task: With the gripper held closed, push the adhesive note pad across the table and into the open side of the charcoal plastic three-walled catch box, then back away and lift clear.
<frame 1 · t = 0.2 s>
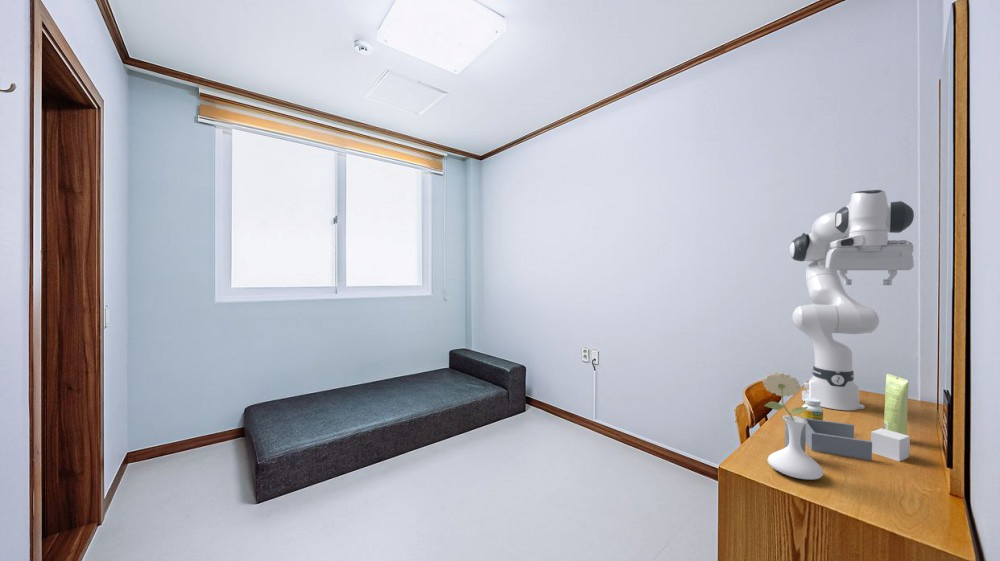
hand: (867, 285, 121), 47 cm above the table, tool pointing down, fingers open, 8 cm apart
supplement bottle: (812, 429, 126), on the table
catch box: (832, 445, 113), on the table
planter: (794, 456, 107), on the table
adhesive note: (889, 455, 108), on the table
flower in vase: (790, 472, 98), on the table
tube: (895, 440, 117), on the table
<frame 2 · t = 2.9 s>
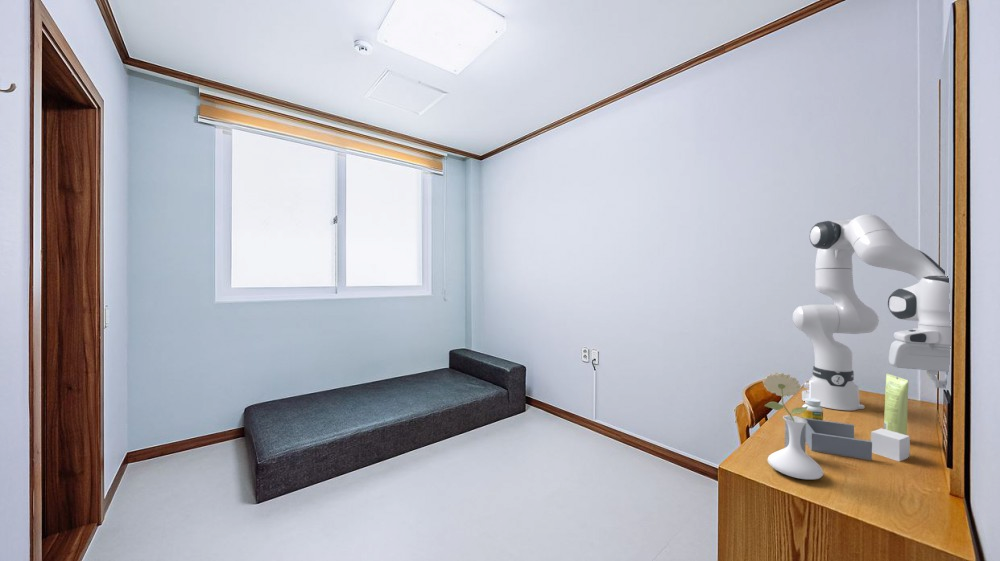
hand: (941, 387, 103), 20 cm above the table, tool pointing down, fingers closed
nothing on the table moved.
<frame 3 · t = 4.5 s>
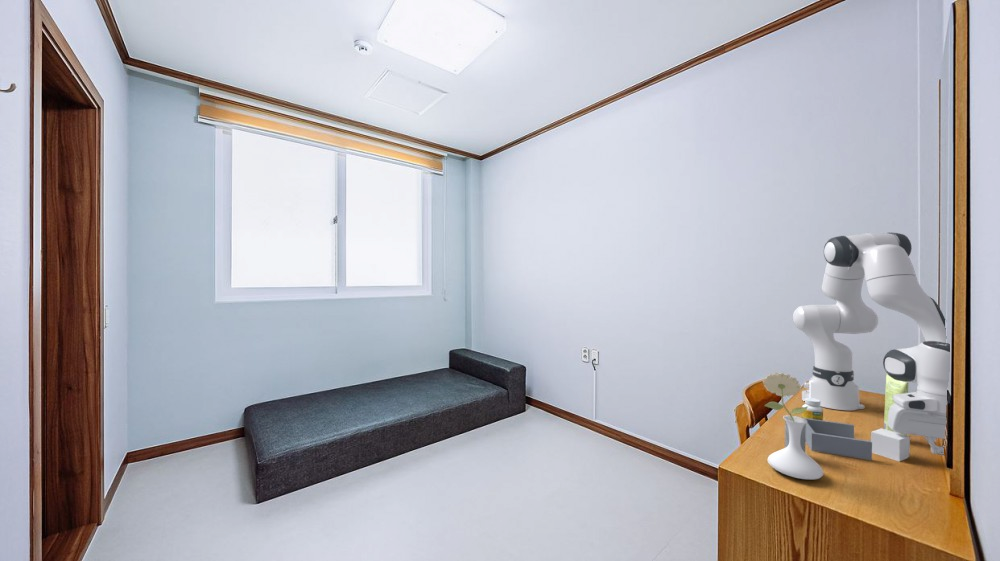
hand: (939, 454, 103), 2 cm above the table, tool pointing down, fingers closed
nothing on the table moved.
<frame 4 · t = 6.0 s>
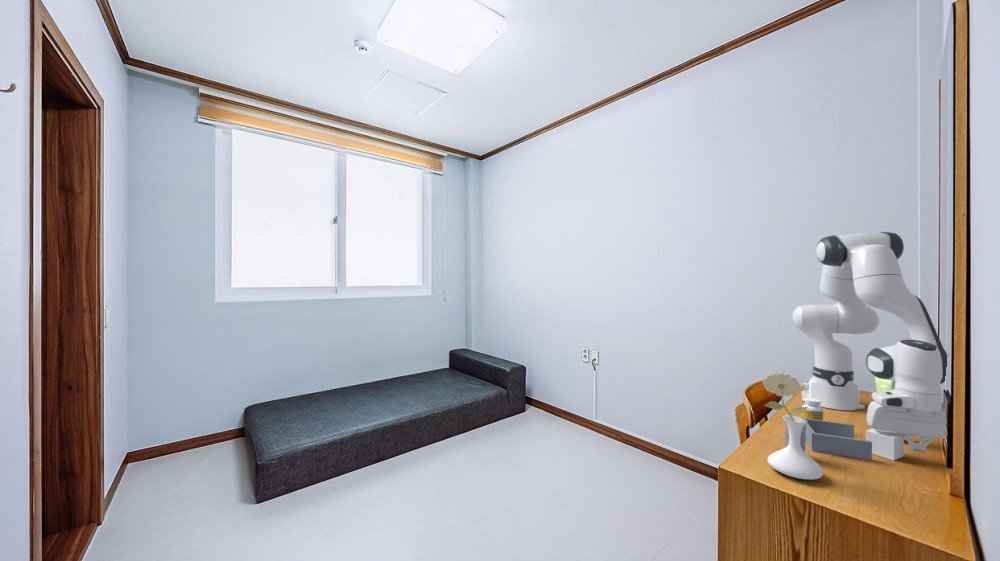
hand: (917, 450, 105), 2 cm above the table, tool pointing down, fingers closed
adhesive note: (884, 454, 108), on the table, touching gripper
tube: (895, 439, 117), on the table, touching arm
everything else where it was.
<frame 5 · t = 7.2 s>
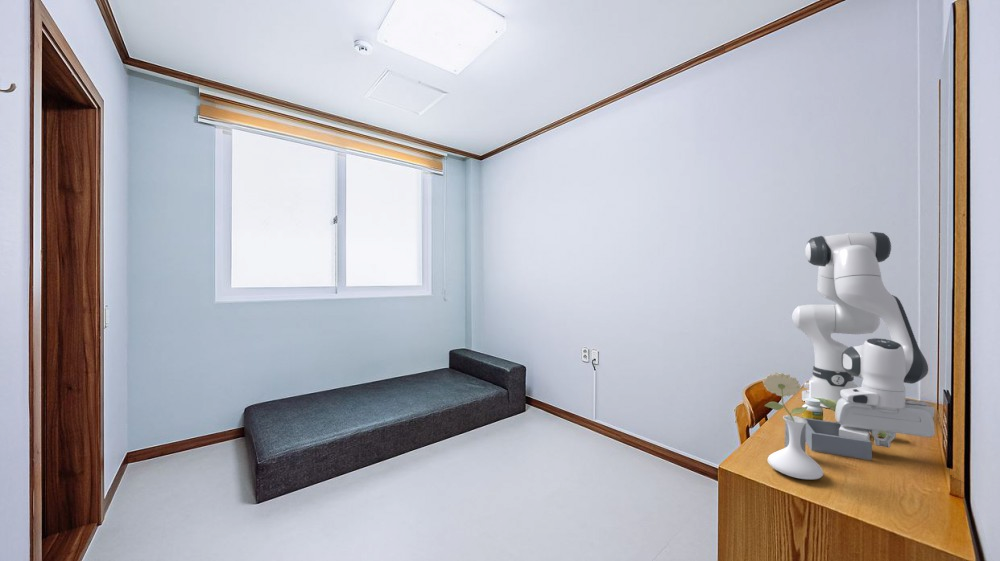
hand: (882, 445, 108), 2 cm above the table, tool pointing down, fingers closed
supplement bottle: (812, 429, 126), on the table, touching tube
adhesive note: (853, 450, 110), on the table, touching gripper
tube: (890, 431, 118), point 2 cm above the table, touching supplement bottle
everything else where it was.
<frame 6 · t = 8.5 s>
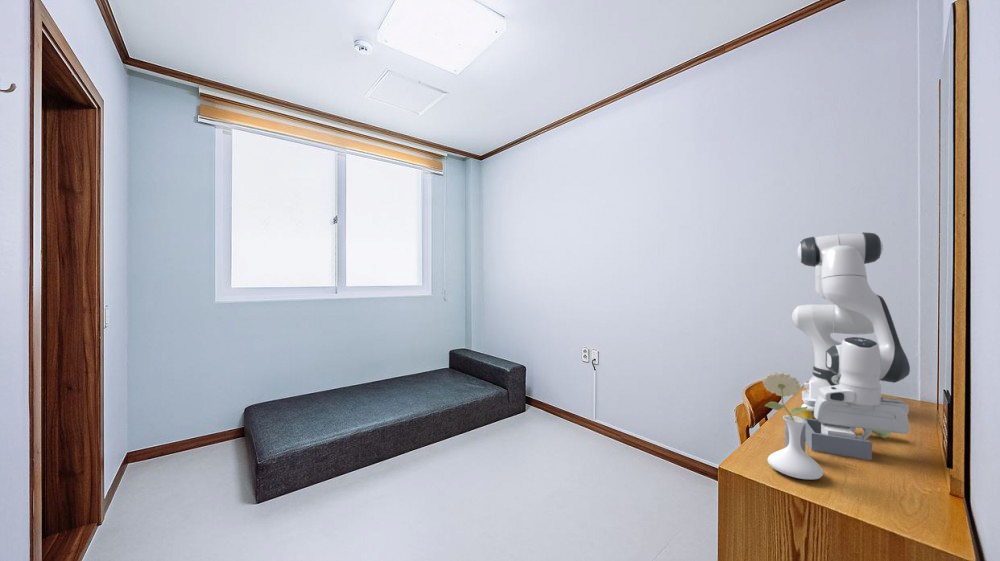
hand: (858, 442, 111), 2 cm above the table, tool pointing down, fingers closed
adhesive note: (837, 449, 111), on the table, touching gripper
tube: (888, 431, 118), point 2 cm above the table, touching supplement bottle
everything else where it was.
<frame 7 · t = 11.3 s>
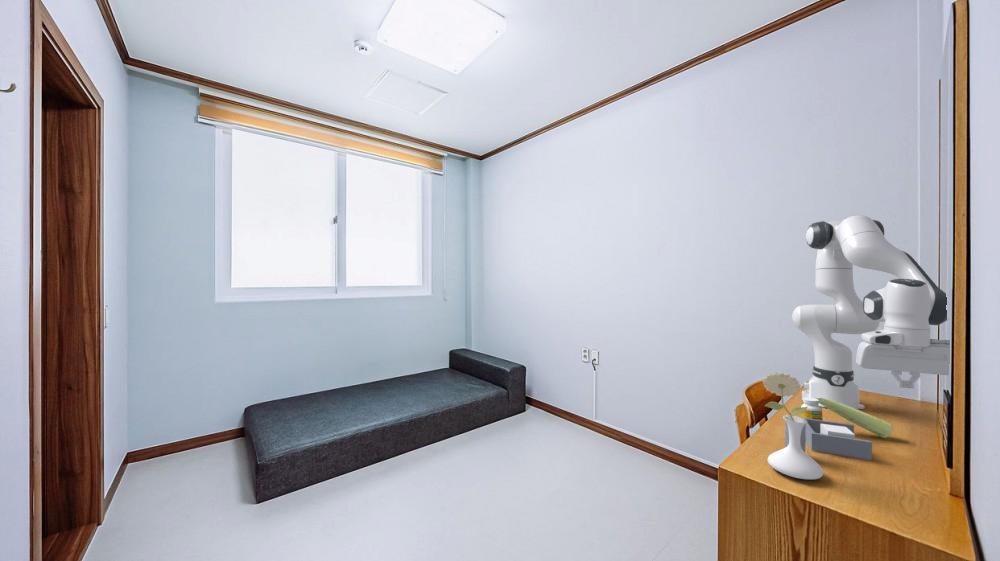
hand: (905, 387, 106), 19 cm above the table, tool pointing down, fingers closed
adhesive note: (836, 449, 111), on the table
everything else where it was.
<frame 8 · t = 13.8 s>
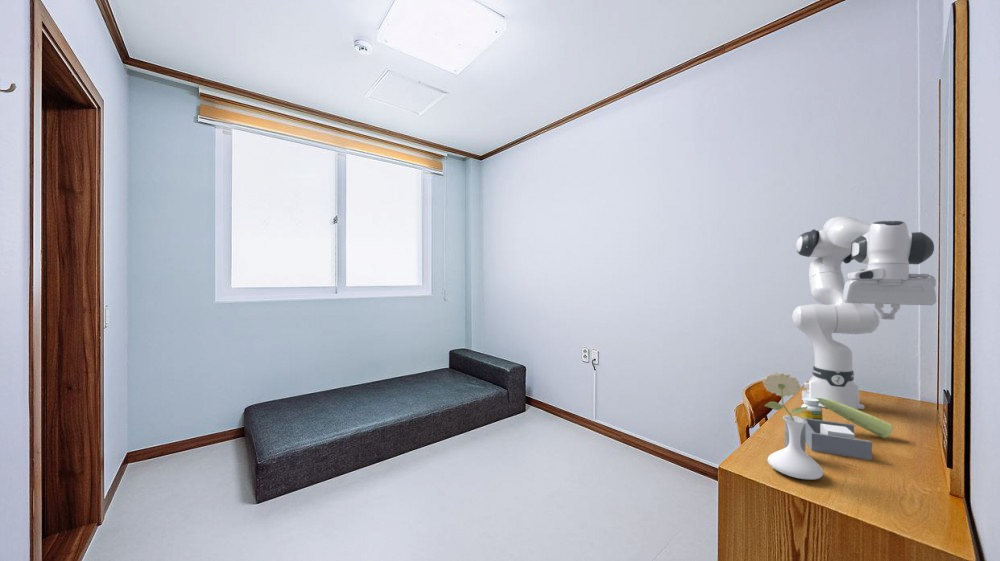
hand: (886, 319, 116), 37 cm above the table, tool pointing down, fingers closed
nothing on the table moved.
at the end: adhesive note inside the target area on the catch box (2.9 cm from its centre), point 0.0 cm above the catch box's base; adhesive note tilted 0° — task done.
